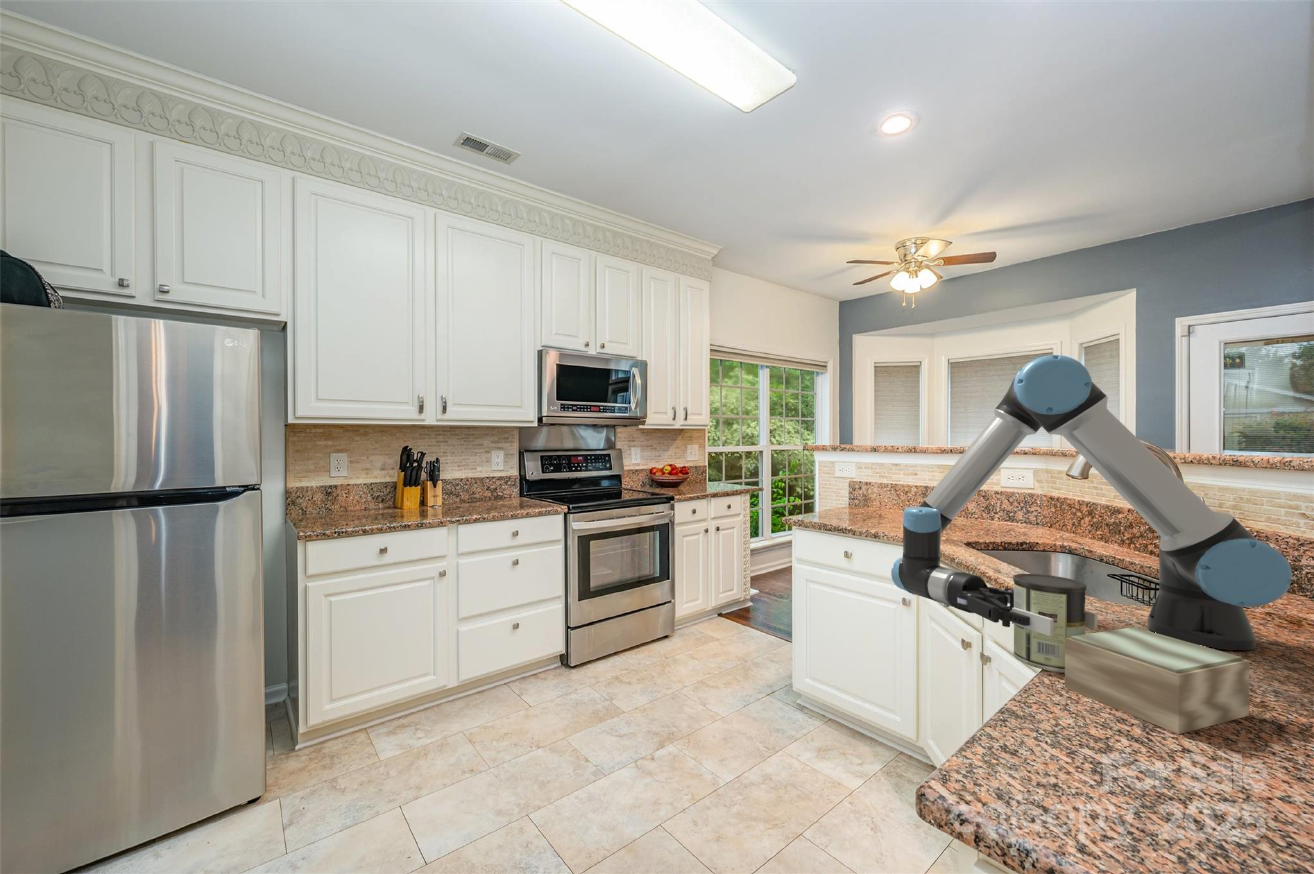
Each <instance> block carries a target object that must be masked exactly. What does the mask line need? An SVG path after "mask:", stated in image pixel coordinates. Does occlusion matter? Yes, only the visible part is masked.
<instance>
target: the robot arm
mask: <svg viewBox="0 0 1314 874" xmlns="http://www.w3.org/2000/svg"><path fill="white" fill-rule="evenodd" d="M1108 398H1109V397H1108V396H1107V394H1106V393H1105V392H1103V391H1102V390H1101V389H1100V388H1099V387H1098V386H1097V384H1095V383H1094V382H1093V380H1092V377H1091V374H1090V372H1089V371H1088V369H1087V368H1086V366H1085V365H1084V364H1082V362H1080V361H1078V360H1077V359H1075V358H1072V357H1069V356H1066V355H1063V354H1061V355H1060V354H1059V355H1058V354H1051V355H1045V356H1041V357H1038V358H1035V359H1033V360H1032V361H1029V362H1027V363H1025V365H1024V366H1023V367H1022V368H1020V369H1019V370H1018V372H1017V373H1016V376H1015V377H1014V378H1013V380H1012V381H1011V383H1010V385H1009V388H1008V389H1007V391H1006V393H1005V394H1004V396H1003V398H1002V399H1001V400H1000V401H999V403H998V405H996V407H995V408H994V410H993V412H994V417H993V418H992V419H991V420H990V422H989V423H988V424H987V425H986V426H985V427H984V428H983V430H982V431H981V432H980V434H978V436H977V437H976V438H975V440H974V441H972V443H971V444H969V445H970V446H968V448H967V449H966V450H965V451H964V452H963V454H962V455H961V456H960V457H959V458H958V460H957V461H956V462H955V463H954V465H952V466H951V468H950V469H949V470H948V472H946V474H945V475H944V476H943V478H942V479H941V480H940V481H939V482H938V483H937V484H936V486H935V487H934V488H933V489H932V490H931V492H930V493H929V494H928V495H927V497H925V499H924V501H922V502H921V504H920V505H919V506H909V507H906V508H904V510H903V516H902V543H903V544H902V557H899V558H897V559H896V560H895V561H894V562H893V567H892V568H891V573H890V574H891V575H890V576H891V580H892V581H893V582H892V583H893V584H894V585H895V586H896V587H897V588H898V589H900V590H903V591H904V592H907V593H909V594H911V595H914V596H918V597H922V598H924V599H928V600H932V601H934V602H938V603H941V604H943V607H945V608H949V607H952V608H954V609H956V610H960V611H962V612H966V613H969V614H976V615H977V616H980V617H982V618H984V619H985V620H988V621H990V622H992V623H996V624H997V623H999V622H1000V621H1001V626H1002V627H1003V628H1004V627H1005V628H1010V627H1011V624H1013V625H1014V624H1015V625H1018V626H1021V627H1024V628H1027V629H1030V630H1033V631H1036V632H1039V633H1042V634H1045V635H1048V636H1053V625H1054V619H1051V618H1048V617H1045V616H1041V615H1038V614H1035V613H1032V612H1028V611H1025V610H1022V609H1018V608H1014V589H1012V588H1011V589H1010V588H1008V587H1007V588H1004V590H1002V589H1000V588H998V587H991V586H988V585H987V583H986V581H985V580H984V579H983V578H982V577H980V576H979V575H976V574H971V573H967V572H964V571H962V570H958V569H954V568H949V567H945V566H941V536H942V533H943V532H944V531H945V530H946V529H947V528H948V526H949V525H950V524H952V521H954V519H956V517H957V516H958V515H959V514H960V512H961V511H962V510H963V509H964V508H965V507H966V506H967V505H968V503H969V502H970V501H971V500H972V499H973V497H974V496H976V494H977V493H978V492H979V490H980V489H981V488H982V487H983V486H984V485H985V484H986V483H987V482H988V480H989V479H990V478H991V477H992V476H993V475H994V474H995V472H996V471H997V470H998V469H999V468H1000V467H1001V466H1002V464H1003V463H1005V461H1006V460H1007V459H1008V458H1009V457H1010V455H1012V453H1013V452H1014V451H1015V450H1016V449H1017V447H1018V446H1019V445H1020V444H1021V443H1022V442H1023V441H1024V439H1026V438H1027V436H1029V435H1035V434H1036V433H1037V432H1038V431H1039V430H1040V429H1041V428H1043V429H1044V430H1045V432H1047V433H1048V434H1049V435H1056V436H1058V435H1059V436H1062V437H1063V438H1064V439H1065V440H1066V441H1067V442H1068V443H1069V444H1070V445H1071V446H1072V447H1073V448H1074V449H1075V450H1076V451H1077V452H1078V453H1079V454H1080V455H1081V456H1082V457H1083V459H1085V460H1086V461H1087V462H1088V463H1089V464H1090V465H1091V466H1092V467H1093V469H1095V470H1096V471H1097V472H1098V474H1099V475H1101V476H1102V478H1103V479H1104V480H1105V481H1106V482H1107V483H1108V484H1109V485H1110V486H1111V487H1112V488H1113V489H1114V490H1115V491H1116V492H1117V493H1118V494H1119V495H1120V496H1121V497H1122V498H1123V499H1124V500H1125V501H1126V502H1127V503H1128V504H1129V505H1130V506H1131V507H1132V508H1133V509H1134V510H1135V511H1136V512H1137V513H1138V514H1139V515H1140V517H1142V518H1143V519H1144V520H1145V521H1146V523H1147V524H1148V525H1150V526H1151V527H1152V529H1153V530H1154V531H1155V532H1156V533H1157V536H1158V546H1159V549H1158V550H1159V551H1158V552H1159V553H1158V555H1159V557H1158V559H1159V561H1158V562H1159V564H1158V565H1159V566H1158V568H1159V569H1158V574H1159V576H1158V577H1159V578H1158V579H1159V580H1158V581H1159V582H1158V583H1159V590H1158V591H1159V592H1158V593H1157V596H1156V598H1155V601H1154V603H1153V604H1152V607H1151V610H1150V612H1149V614H1148V616H1147V629H1148V628H1149V629H1150V630H1151V631H1150V630H1149V629H1148V630H1149V631H1150V632H1152V631H1153V633H1154V632H1156V633H1157V634H1161V635H1164V636H1168V637H1171V638H1175V639H1179V640H1182V641H1186V642H1189V643H1193V644H1197V645H1202V646H1207V648H1209V647H1214V648H1213V649H1215V648H1217V649H1216V650H1223V649H1225V651H1233V650H1249V651H1253V649H1254V650H1256V647H1257V639H1256V638H1257V637H1256V634H1255V632H1254V630H1253V628H1252V625H1251V623H1250V621H1249V618H1248V615H1247V612H1246V611H1245V609H1244V608H1246V607H1247V608H1253V607H1262V606H1265V605H1268V604H1271V603H1274V602H1276V601H1277V600H1279V599H1280V598H1282V597H1283V596H1285V594H1286V593H1287V592H1288V590H1289V588H1290V586H1291V583H1292V579H1293V573H1292V568H1291V565H1290V564H1289V561H1288V560H1287V558H1286V557H1285V556H1284V555H1283V554H1282V553H1281V552H1280V551H1279V550H1278V549H1276V548H1274V547H1273V546H1272V545H1270V544H1268V543H1266V542H1264V541H1260V540H1258V539H1257V538H1256V536H1254V535H1253V534H1252V533H1251V532H1250V531H1249V530H1248V529H1247V528H1246V527H1245V526H1243V525H1242V524H1241V522H1239V521H1238V520H1236V518H1235V517H1234V516H1233V515H1232V514H1230V513H1226V512H1225V513H1224V512H1220V511H1214V510H1212V509H1211V508H1210V507H1209V506H1208V505H1207V504H1206V503H1205V502H1204V501H1203V500H1202V499H1201V498H1200V497H1199V496H1197V494H1196V493H1194V491H1193V490H1191V489H1190V488H1189V487H1188V486H1187V485H1186V484H1185V483H1184V482H1183V481H1182V480H1181V479H1180V478H1179V477H1178V476H1177V475H1176V474H1175V473H1174V472H1173V470H1171V469H1170V468H1169V467H1168V466H1167V465H1166V464H1164V463H1163V462H1162V461H1161V460H1160V459H1159V458H1158V456H1156V455H1155V453H1153V451H1151V450H1150V449H1149V448H1148V446H1146V445H1145V444H1144V443H1143V442H1142V441H1141V440H1139V438H1138V437H1136V436H1135V434H1134V433H1133V432H1132V431H1131V430H1129V428H1128V427H1126V426H1125V424H1123V423H1122V421H1120V420H1119V419H1118V418H1117V417H1116V416H1115V415H1114V414H1113V413H1112V412H1111V411H1110V410H1109V409H1108V407H1107V406H1108ZM1085 628H1088V629H1090V630H1095V631H1096V630H1098V613H1097V612H1095V611H1089V610H1086V609H1085Z"/></svg>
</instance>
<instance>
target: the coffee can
mask: <svg viewBox="0 0 1314 874" xmlns="http://www.w3.org/2000/svg"><path fill="white" fill-rule="evenodd" d="M1012 581H1013V590H1014V608H1018V609H1022V610H1025V611H1028V612H1032V613H1035V614H1038V615H1041V616H1045V617H1048V618H1051V619H1054V625H1053V636H1048V635H1045V634H1042V633H1039V632H1036V631H1033V630H1030V629H1027V628H1024V627H1021V626H1018V625H1015V624H1013V657H1014V658H1015V659H1016V660H1018V661H1019V662H1021V663H1023V664H1026V665H1028V666H1029V667H1032V668H1037V669H1039V670H1043V669H1044V668H1045V669H1044V671H1048V672H1053V673H1059V674H1061V673H1062V674H1065V638H1069V637H1071V636H1076V635H1083V634H1086V627H1085V610H1086V591H1087V584H1085V583H1083V582H1081V581H1079V580H1076V579H1073V578H1068V577H1064V576H1057V575H1052V574H1051V575H1050V574H1043V573H1042V574H1040V573H1017V574H1014V575H1012Z"/></svg>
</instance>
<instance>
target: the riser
mask: <svg viewBox="0 0 1314 874" xmlns="http://www.w3.org/2000/svg"><path fill="white" fill-rule="evenodd" d="M1064 688H1065V689H1067V690H1069V691H1073V692H1075V693H1077V694H1080V695H1083V696H1085V697H1087V698H1090V699H1092V700H1093V701H1097V702H1099V703H1102V704H1103V705H1106V706H1109V707H1110V708H1114V709H1116V710H1118V711H1121V712H1123V713H1126V714H1128V715H1131V716H1133V717H1136V718H1138V719H1140V720H1143V721H1145V722H1148V723H1150V724H1153V725H1155V726H1157V727H1159V728H1162V729H1165V730H1167V731H1170V732H1172V733H1174V734H1177V735H1180V734H1185V733H1188V732H1192V731H1197V730H1200V729H1205V728H1208V727H1210V726H1211V727H1212V726H1216V725H1218V724H1222V723H1227V722H1231V721H1234V720H1238V719H1241V718H1242V719H1243V718H1245V717H1250V660H1247V659H1243V656H1239V655H1236V654H1232V653H1228V652H1226V651H1221V650H1219V649H1215V648H1209V647H1204V646H1200V645H1197V644H1193V643H1189V642H1186V641H1182V640H1179V639H1175V638H1171V637H1168V636H1164V635H1161V634H1157V633H1154V632H1152V631H1150V630H1146V629H1142V628H1138V627H1135V626H1132V627H1125V628H1117V629H1111V630H1104V631H1099V632H1091V633H1085V634H1083V635H1076V636H1071V637H1069V638H1065V673H1064Z"/></svg>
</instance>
